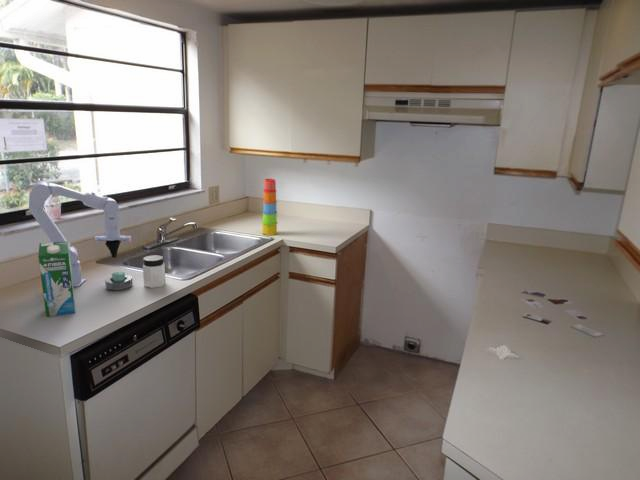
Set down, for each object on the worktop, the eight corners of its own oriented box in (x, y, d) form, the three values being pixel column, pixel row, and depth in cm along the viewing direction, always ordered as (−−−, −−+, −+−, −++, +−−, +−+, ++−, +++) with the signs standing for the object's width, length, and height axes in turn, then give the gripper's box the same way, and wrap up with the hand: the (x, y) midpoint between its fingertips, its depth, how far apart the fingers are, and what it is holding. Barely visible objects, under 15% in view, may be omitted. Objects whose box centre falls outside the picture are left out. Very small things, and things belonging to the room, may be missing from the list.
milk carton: (46, 316, 158) (37, 249, 152) (47, 307, 166) (39, 242, 159) (75, 312, 162) (67, 247, 156) (75, 303, 170) (68, 240, 163)
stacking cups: (281, 233, 283) (282, 179, 274) (269, 236, 276) (270, 180, 266) (269, 230, 290) (270, 177, 280) (258, 233, 282) (258, 178, 273)
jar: (146, 289, 186) (144, 262, 183) (141, 283, 193) (140, 256, 190) (168, 285, 191) (166, 259, 188) (163, 279, 198) (161, 254, 195)
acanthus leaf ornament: (486, 351, 149) (486, 346, 148) (502, 348, 151) (503, 343, 151) (502, 362, 142) (503, 357, 141) (519, 359, 144) (520, 354, 144)
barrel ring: (102, 291, 183) (101, 283, 182) (110, 282, 192) (109, 274, 191) (128, 290, 184) (128, 283, 183) (135, 282, 194) (134, 274, 193)
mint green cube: (110, 286, 185) (109, 275, 184) (115, 281, 190) (114, 271, 189) (123, 286, 185) (122, 276, 184) (127, 281, 190) (126, 272, 189)
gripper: (90, 228, 186) (93, 259, 190) (127, 229, 188) (129, 259, 192) (96, 224, 193) (99, 254, 196) (131, 225, 195) (133, 254, 198)
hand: (114, 256), depth 194 cm, fingers closed
